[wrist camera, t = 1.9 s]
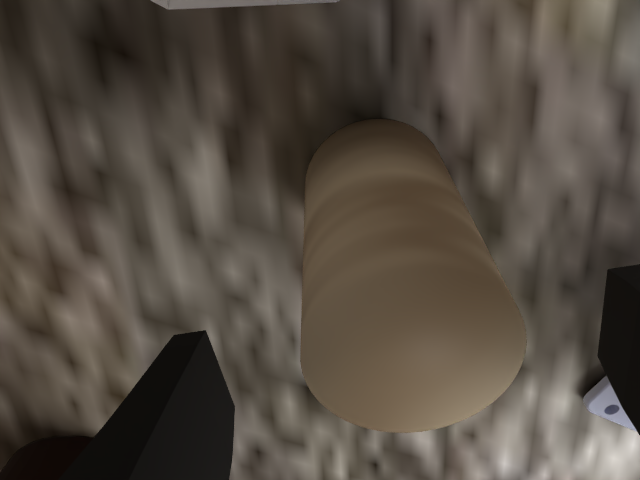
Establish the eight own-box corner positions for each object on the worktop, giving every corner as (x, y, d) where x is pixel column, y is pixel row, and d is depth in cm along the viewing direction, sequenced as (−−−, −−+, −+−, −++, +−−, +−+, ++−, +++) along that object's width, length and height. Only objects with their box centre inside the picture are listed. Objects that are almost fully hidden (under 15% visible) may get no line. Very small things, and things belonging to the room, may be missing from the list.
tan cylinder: (472, 158, 15) (574, 319, 9) (396, 263, 17) (441, 455, 11) (347, 92, 14) (373, 226, 8) (281, 212, 16) (263, 391, 10)
